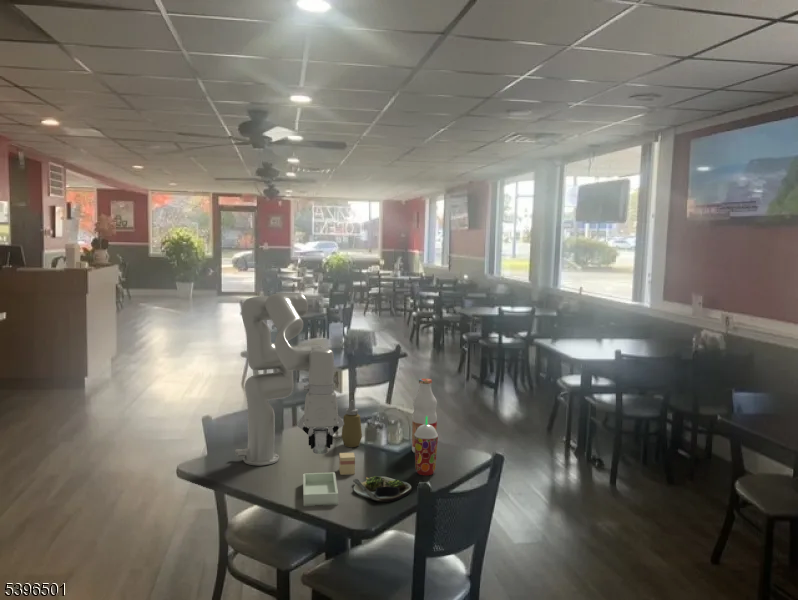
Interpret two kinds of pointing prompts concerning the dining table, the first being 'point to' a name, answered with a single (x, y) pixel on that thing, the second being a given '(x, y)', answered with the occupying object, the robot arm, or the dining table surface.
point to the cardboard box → (346, 463)
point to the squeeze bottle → (351, 427)
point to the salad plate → (382, 489)
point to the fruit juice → (424, 408)
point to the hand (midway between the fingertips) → (320, 446)
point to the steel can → (320, 440)
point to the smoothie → (425, 449)
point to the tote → (320, 489)
